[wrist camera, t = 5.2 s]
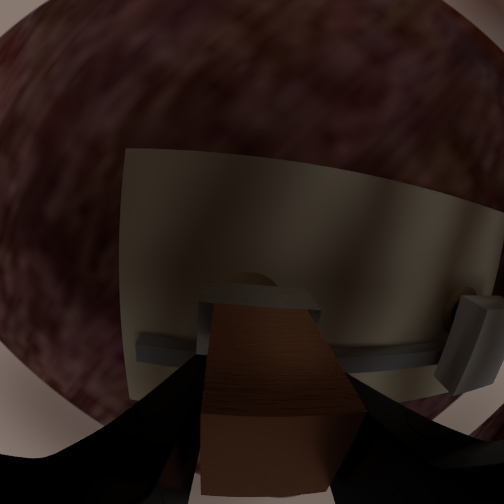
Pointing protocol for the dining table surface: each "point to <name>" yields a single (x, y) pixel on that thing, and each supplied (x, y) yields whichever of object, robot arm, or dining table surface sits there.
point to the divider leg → (270, 394)
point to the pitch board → (311, 266)
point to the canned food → (500, 435)
